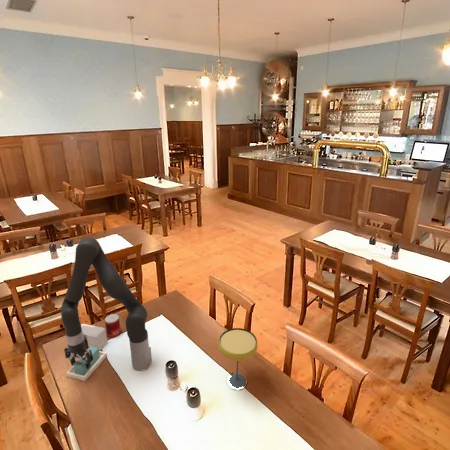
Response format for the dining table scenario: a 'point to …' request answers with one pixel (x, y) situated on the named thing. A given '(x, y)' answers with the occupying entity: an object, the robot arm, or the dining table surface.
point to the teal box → (80, 365)
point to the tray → (83, 378)
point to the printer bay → (94, 336)
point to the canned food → (112, 325)
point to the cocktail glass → (238, 350)
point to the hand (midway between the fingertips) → (81, 366)
